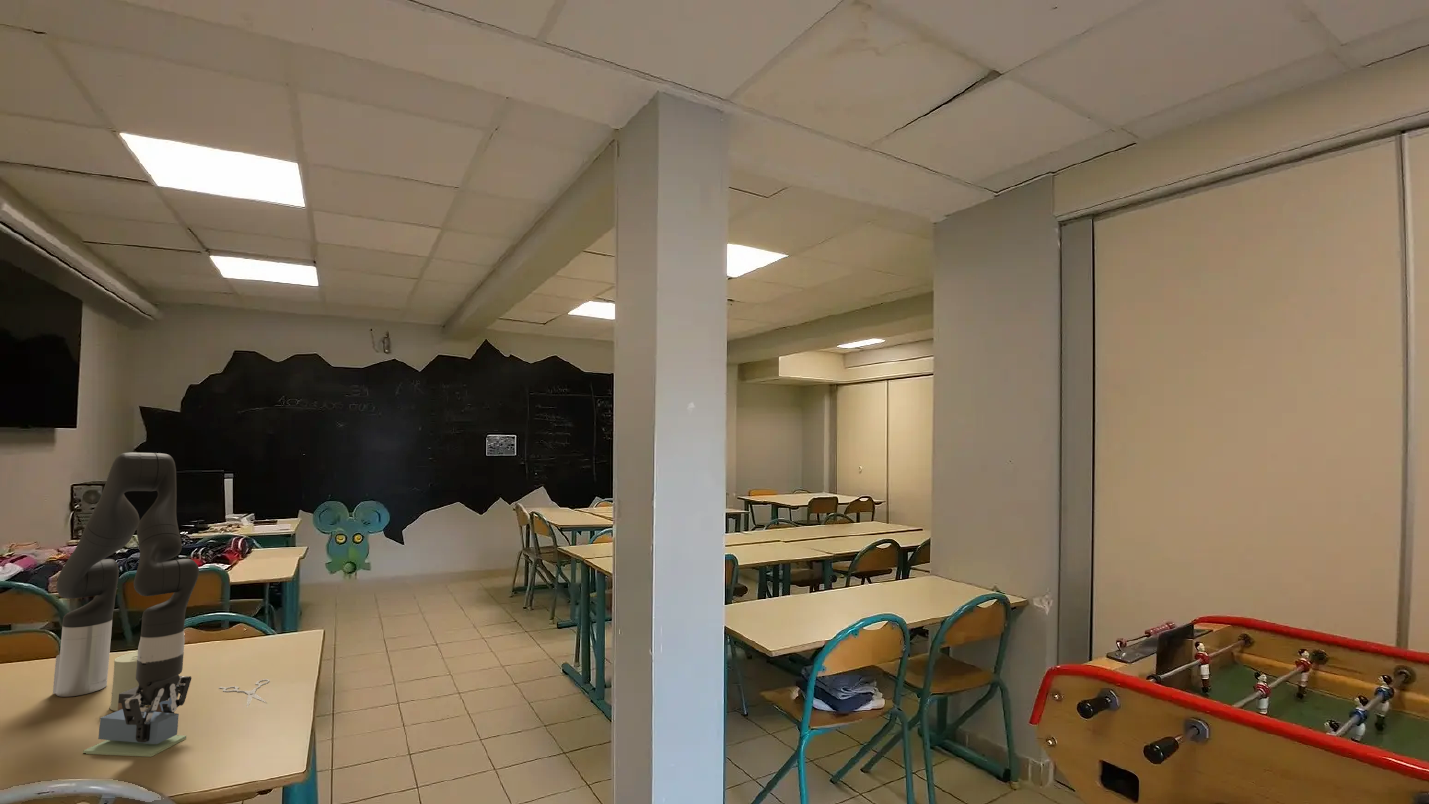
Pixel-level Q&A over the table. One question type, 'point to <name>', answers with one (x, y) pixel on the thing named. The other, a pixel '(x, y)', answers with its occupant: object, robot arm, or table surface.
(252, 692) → the scissors
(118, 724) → the blue slab
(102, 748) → the pad
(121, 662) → the can
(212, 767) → the table surface
